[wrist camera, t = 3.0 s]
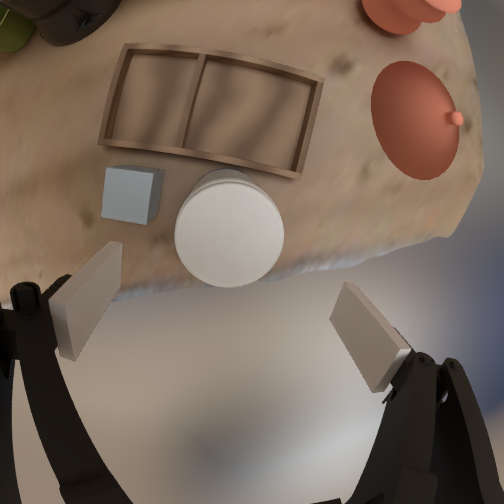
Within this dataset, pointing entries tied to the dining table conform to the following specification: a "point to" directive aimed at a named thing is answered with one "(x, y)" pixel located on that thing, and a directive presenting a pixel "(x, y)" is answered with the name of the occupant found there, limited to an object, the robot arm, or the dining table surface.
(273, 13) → the dining table surface
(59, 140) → the dining table surface
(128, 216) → the slate block
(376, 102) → the ceramic vessels
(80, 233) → the dining table surface
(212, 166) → the dining table surface
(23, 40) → the plant pot
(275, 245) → the supplement tub
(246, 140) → the caddy
